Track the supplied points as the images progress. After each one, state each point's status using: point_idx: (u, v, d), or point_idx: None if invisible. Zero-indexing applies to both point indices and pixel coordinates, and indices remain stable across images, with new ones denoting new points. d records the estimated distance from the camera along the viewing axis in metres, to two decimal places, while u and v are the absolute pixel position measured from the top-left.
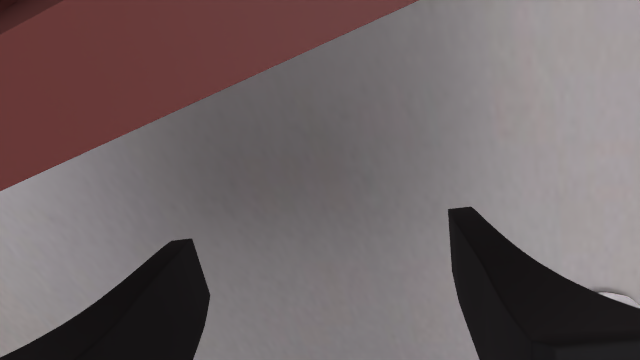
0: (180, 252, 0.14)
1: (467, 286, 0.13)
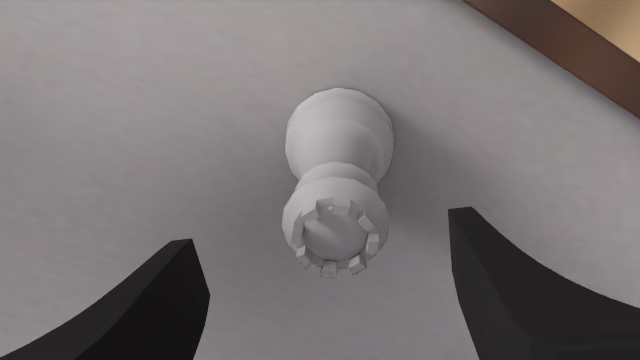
0: (180, 252, 0.14)
1: (467, 286, 0.13)
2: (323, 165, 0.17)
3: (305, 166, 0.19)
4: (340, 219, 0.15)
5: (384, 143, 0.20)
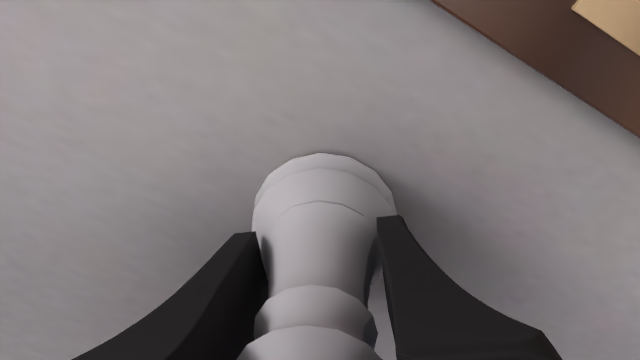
0: (248, 245, 0.14)
1: (387, 294, 0.13)
2: (294, 290, 0.12)
3: (272, 275, 0.13)
4: None
5: None
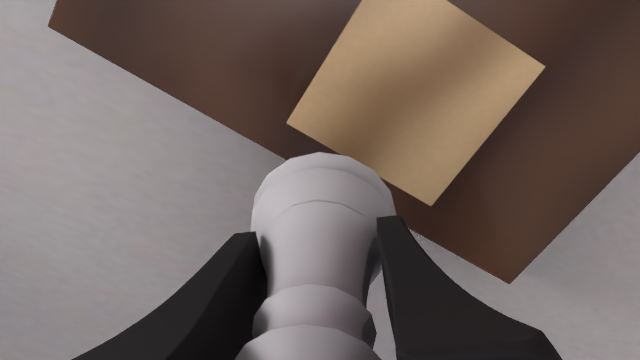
0: (248, 244, 0.14)
1: (388, 294, 0.13)
2: (293, 289, 0.12)
3: (271, 275, 0.13)
4: None
5: None
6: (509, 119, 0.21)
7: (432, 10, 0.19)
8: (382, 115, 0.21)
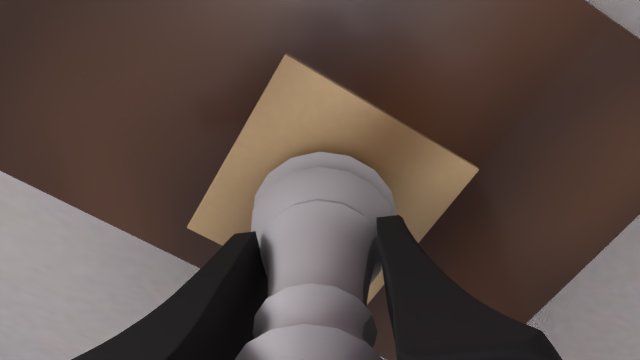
0: (248, 244, 0.14)
1: (388, 294, 0.13)
2: (293, 288, 0.12)
3: (272, 274, 0.13)
4: None
5: None
6: (442, 224, 0.18)
7: (343, 109, 0.16)
8: None
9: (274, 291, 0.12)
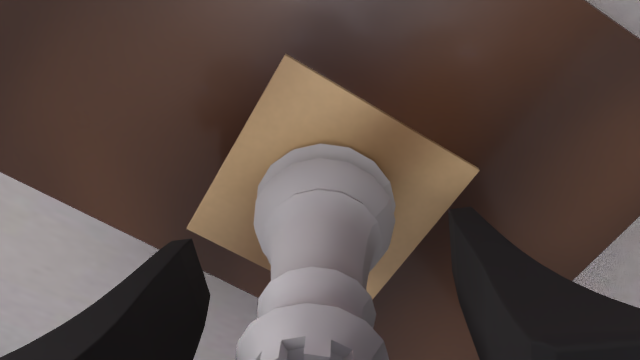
0: (180, 252, 0.14)
1: (467, 286, 0.13)
2: (296, 272, 0.12)
3: (274, 260, 0.14)
4: None
5: (382, 218, 0.16)
6: (442, 224, 0.18)
7: (343, 109, 0.16)
8: None
9: (277, 275, 0.13)
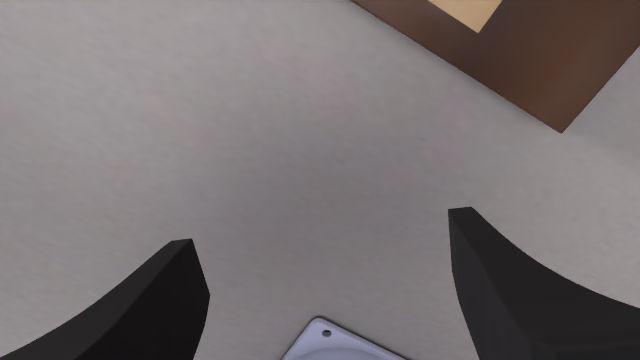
0: (180, 252, 0.14)
1: (467, 286, 0.13)
2: None
3: None
4: None
5: None
6: None
7: None
8: None
9: None
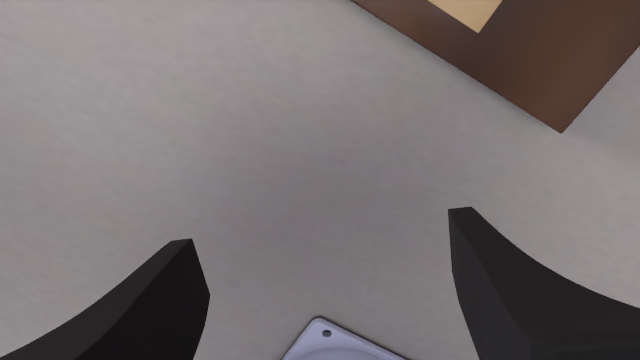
0: (180, 252, 0.14)
1: (467, 286, 0.13)
2: None
3: None
4: None
5: None
6: None
7: None
8: None
9: None
